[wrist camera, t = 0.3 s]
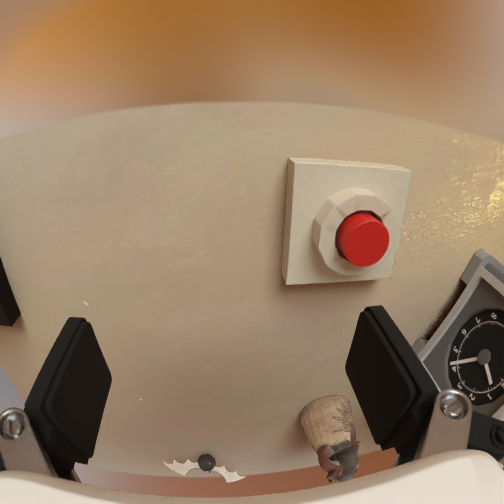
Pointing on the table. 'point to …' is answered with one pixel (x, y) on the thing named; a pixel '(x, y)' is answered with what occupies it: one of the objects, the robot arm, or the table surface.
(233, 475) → the bat toy
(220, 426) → the table surface
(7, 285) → the panel
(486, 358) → the alarm clock
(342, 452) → the figurine
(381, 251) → the power button
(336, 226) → the switch box
